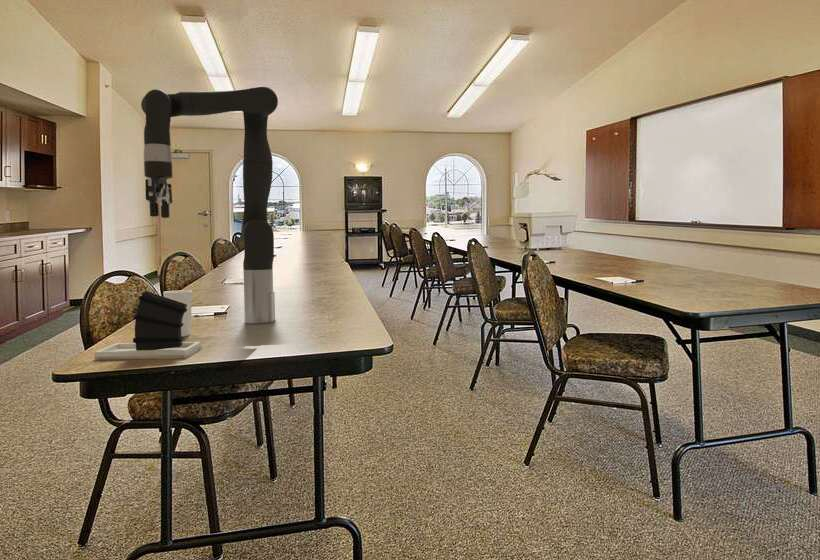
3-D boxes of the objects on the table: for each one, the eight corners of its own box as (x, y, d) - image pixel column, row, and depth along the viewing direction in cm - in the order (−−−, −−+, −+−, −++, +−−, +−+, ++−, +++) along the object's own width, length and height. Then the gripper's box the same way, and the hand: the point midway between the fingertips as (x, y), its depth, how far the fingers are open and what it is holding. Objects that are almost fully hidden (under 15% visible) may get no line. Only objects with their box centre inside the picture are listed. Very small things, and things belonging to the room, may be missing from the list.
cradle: (201, 349, 154) (200, 341, 153) (186, 358, 142) (186, 350, 141) (116, 350, 152) (116, 343, 152) (94, 359, 140) (94, 351, 140)
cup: (158, 340, 167) (156, 292, 166) (178, 336, 174) (176, 289, 174) (180, 342, 164) (179, 292, 163) (200, 337, 172) (198, 290, 171)
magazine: (126, 345, 148) (145, 290, 148) (176, 360, 150) (195, 307, 150) (121, 347, 144) (140, 291, 144) (173, 363, 146) (192, 308, 146)
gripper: (162, 157, 160) (164, 216, 161) (179, 164, 174) (181, 218, 175) (134, 157, 160) (137, 216, 161) (154, 164, 174) (156, 218, 175)
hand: (160, 217), depth 168 cm, fingers open, 8 cm apart
